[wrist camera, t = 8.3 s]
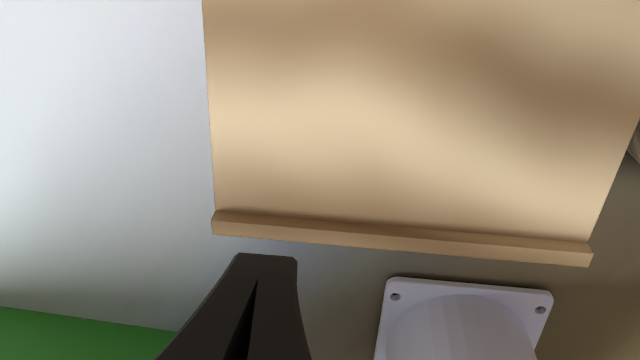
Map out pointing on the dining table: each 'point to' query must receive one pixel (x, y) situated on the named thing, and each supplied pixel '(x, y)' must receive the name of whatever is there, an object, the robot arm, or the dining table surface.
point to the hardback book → (74, 338)
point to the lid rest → (421, 122)
